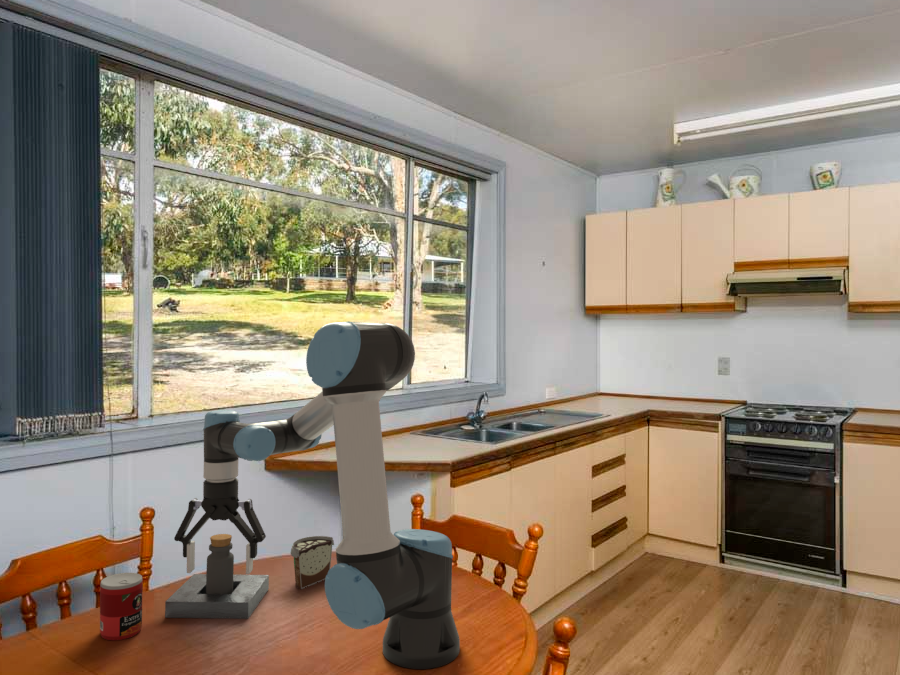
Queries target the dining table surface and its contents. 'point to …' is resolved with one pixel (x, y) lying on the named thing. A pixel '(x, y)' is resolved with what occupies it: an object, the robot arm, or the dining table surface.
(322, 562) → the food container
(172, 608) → the plate
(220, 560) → the bottle
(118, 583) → the canned food
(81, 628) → the dining table surface
